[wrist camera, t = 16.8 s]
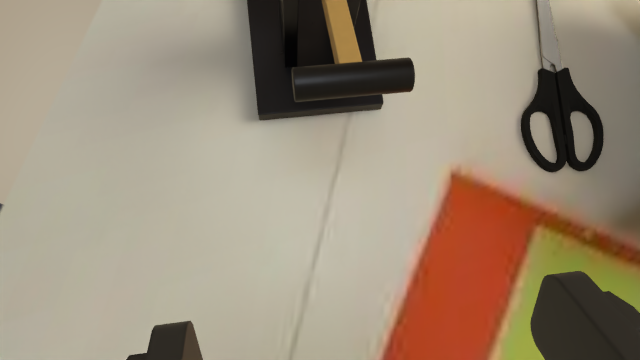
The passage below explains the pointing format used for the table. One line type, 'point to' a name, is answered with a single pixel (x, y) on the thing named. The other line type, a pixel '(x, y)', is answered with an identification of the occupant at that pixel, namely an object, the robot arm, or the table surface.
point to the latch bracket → (301, 54)
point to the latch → (349, 66)
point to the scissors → (558, 103)
